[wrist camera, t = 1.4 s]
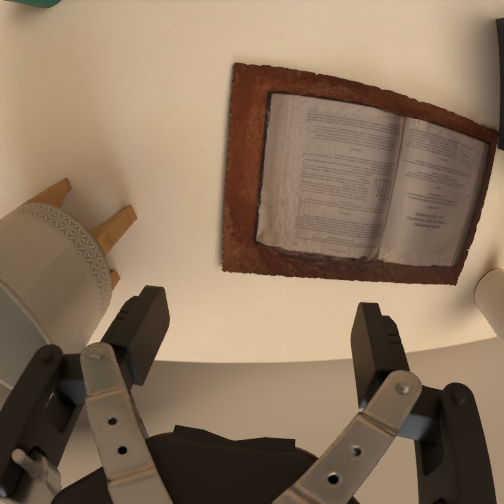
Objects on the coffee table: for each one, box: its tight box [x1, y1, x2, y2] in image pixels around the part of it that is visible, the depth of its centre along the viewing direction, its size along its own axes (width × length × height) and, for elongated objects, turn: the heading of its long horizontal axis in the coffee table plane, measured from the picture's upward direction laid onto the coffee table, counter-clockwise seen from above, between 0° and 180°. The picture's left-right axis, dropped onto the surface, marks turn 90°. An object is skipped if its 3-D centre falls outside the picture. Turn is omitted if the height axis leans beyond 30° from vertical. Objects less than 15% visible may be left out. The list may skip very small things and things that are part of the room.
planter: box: [0, 178, 137, 398], centre depth 24 cm, size 13×13×18 cm
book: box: [221, 63, 499, 286], centre depth 27 cm, size 20×28×4 cm
